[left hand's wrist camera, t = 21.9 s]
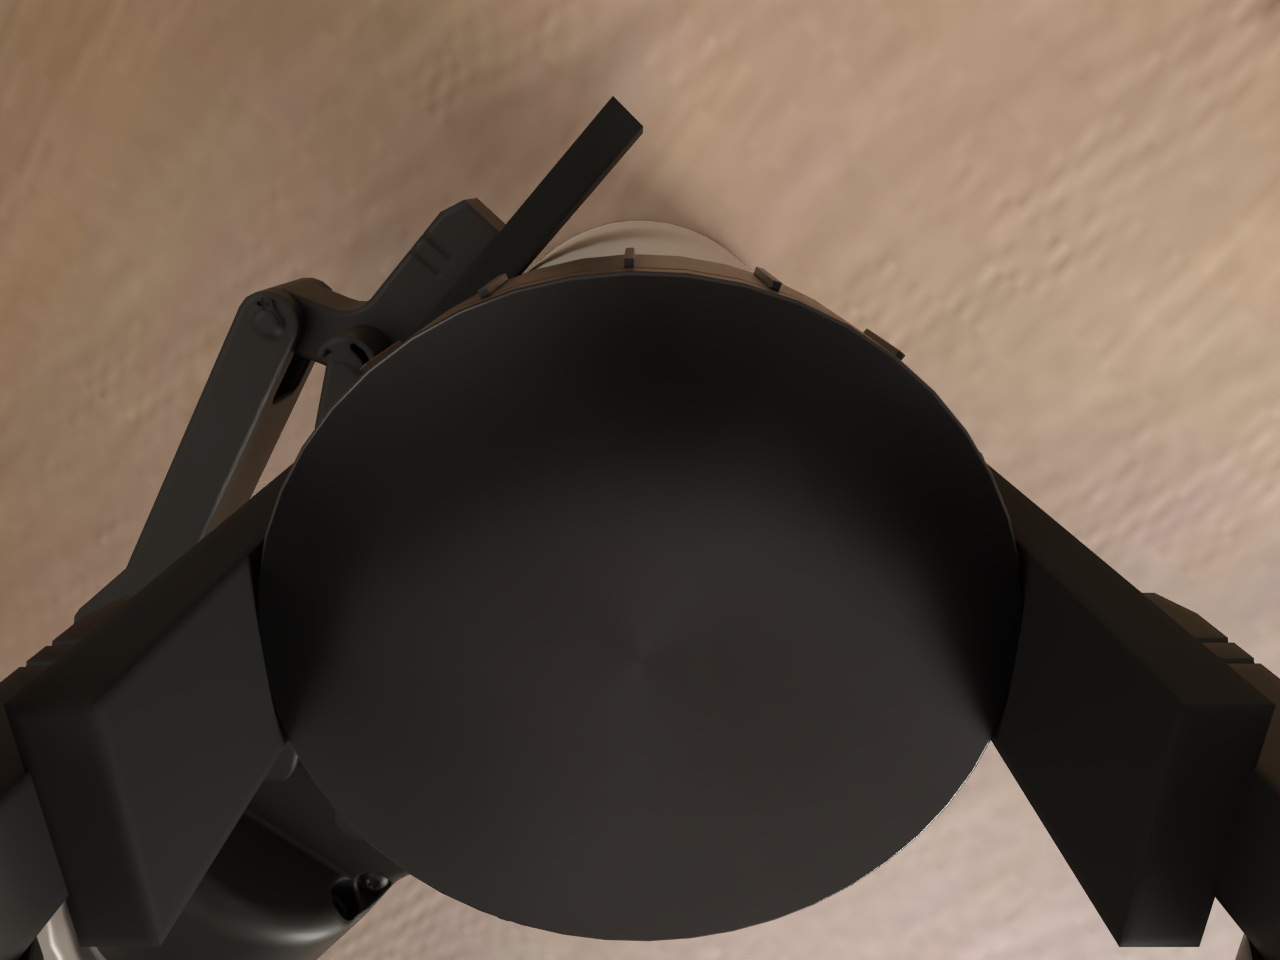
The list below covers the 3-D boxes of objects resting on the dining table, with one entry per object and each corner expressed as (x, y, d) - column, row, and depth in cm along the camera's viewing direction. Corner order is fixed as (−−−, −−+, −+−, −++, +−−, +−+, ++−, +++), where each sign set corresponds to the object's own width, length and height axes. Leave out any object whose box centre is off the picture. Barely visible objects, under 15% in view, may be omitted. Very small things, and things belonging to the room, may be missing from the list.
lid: (173, 486, 11) (82, 548, 9) (774, 94, 10) (807, 77, 8) (547, 919, 14) (533, 1032, 12) (1066, 673, 12) (1142, 761, 10)
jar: (537, 520, 27) (419, 919, 12) (465, 254, 24) (203, 374, 10) (798, 471, 26) (991, 829, 12) (758, 191, 23) (946, 218, 9)
